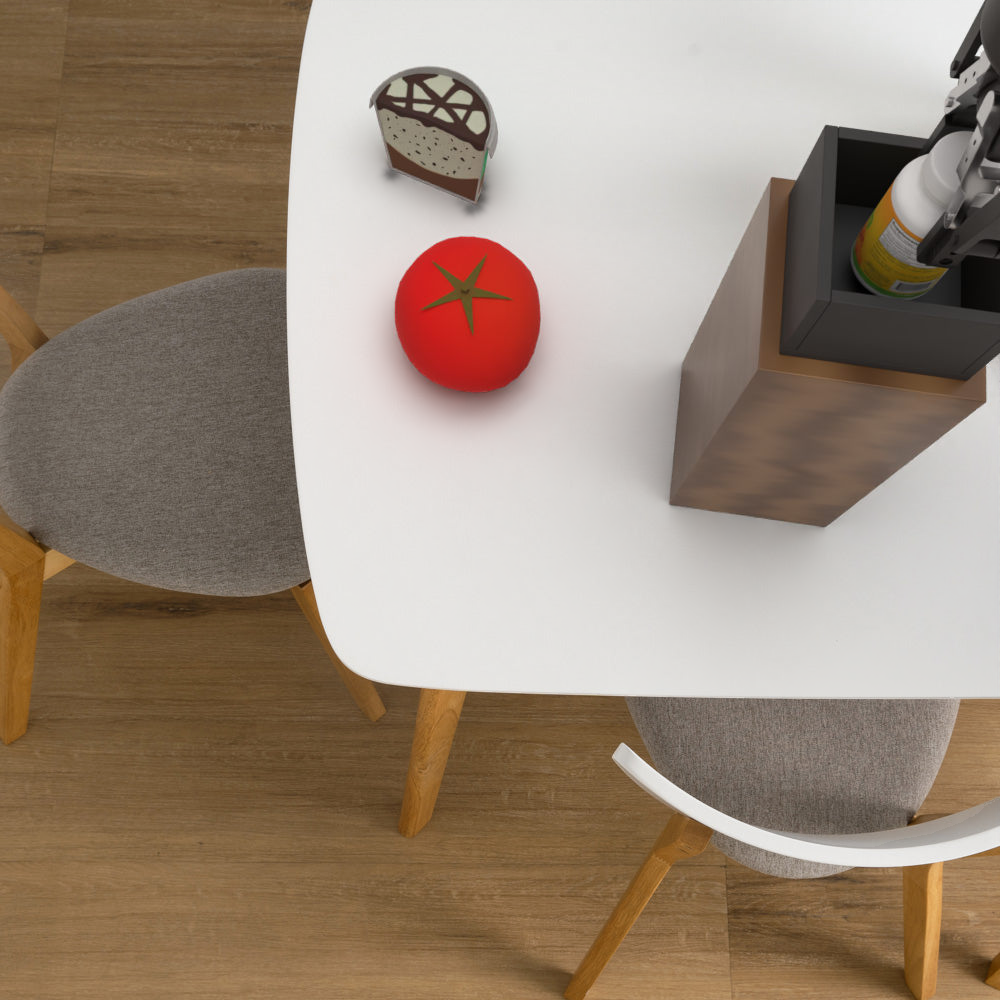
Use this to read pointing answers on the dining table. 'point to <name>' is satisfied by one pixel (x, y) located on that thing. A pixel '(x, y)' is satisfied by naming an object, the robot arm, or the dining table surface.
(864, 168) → the dark grey open box
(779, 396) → the stand
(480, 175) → the food container
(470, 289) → the tomato
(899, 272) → the supplement bottle
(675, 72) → the dining table surface
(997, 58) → the robot arm
